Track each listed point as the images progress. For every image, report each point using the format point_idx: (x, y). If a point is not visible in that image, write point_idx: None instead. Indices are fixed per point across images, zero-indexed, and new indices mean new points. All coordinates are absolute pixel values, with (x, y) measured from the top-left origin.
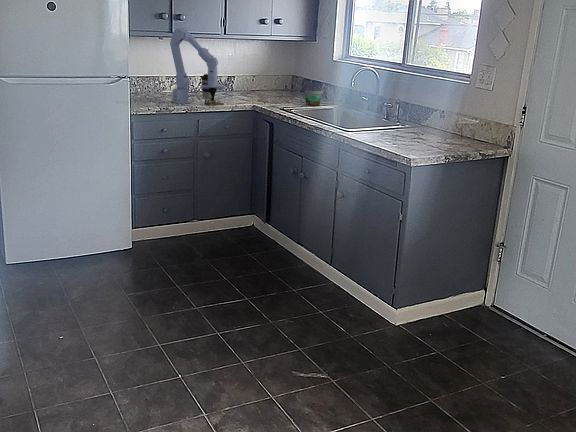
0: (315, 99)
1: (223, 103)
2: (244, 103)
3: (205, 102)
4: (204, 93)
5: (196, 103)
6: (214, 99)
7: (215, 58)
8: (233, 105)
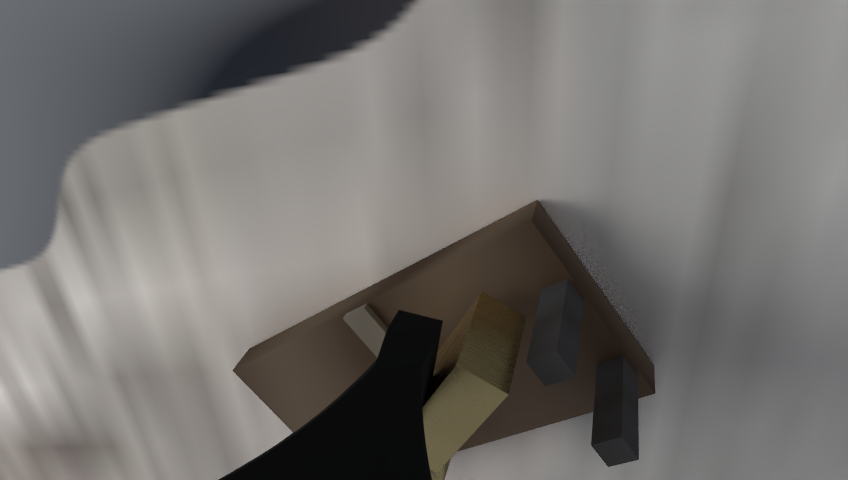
0: None
1: (241, 363)
2: (38, 463)
3: (626, 370)
4: None
5: (842, 449)
6: None
7: None
8: (98, 321)
